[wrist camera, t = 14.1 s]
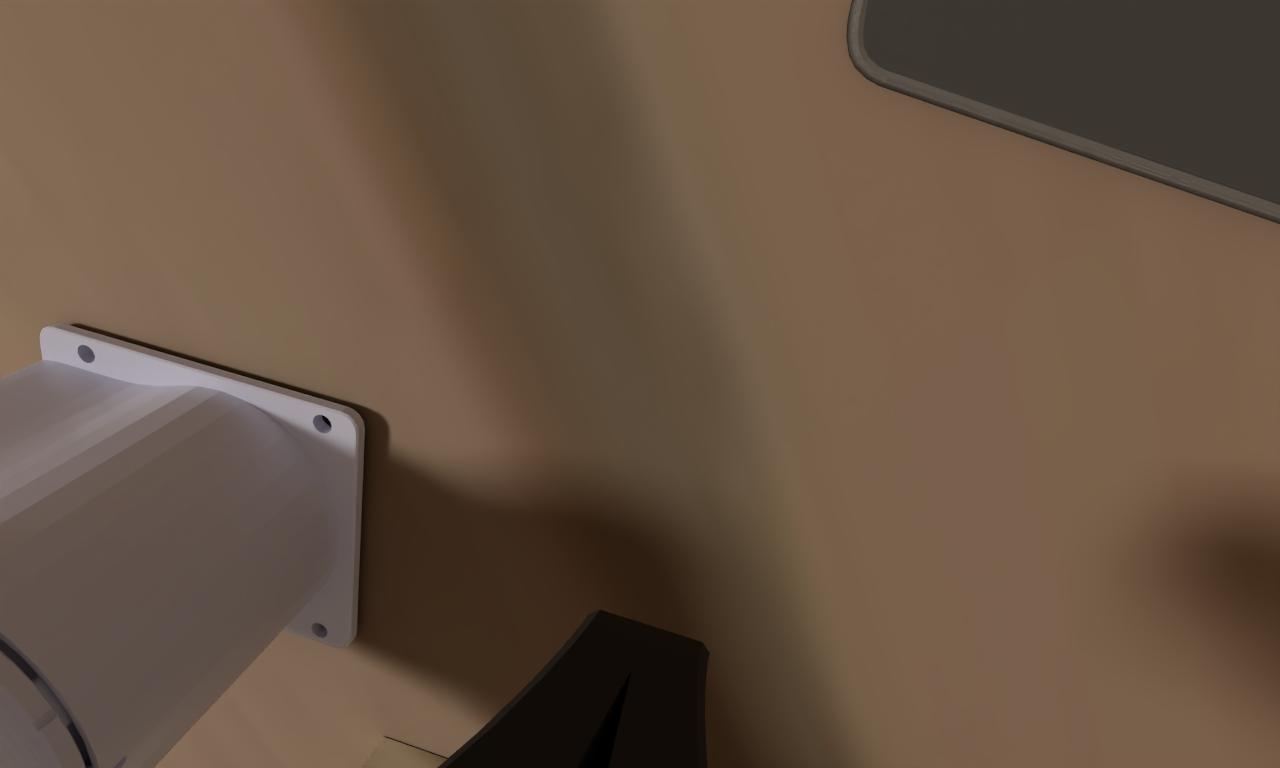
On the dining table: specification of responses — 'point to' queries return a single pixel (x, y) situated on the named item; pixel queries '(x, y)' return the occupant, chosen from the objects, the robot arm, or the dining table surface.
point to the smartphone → (1100, 81)
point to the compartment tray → (401, 756)
